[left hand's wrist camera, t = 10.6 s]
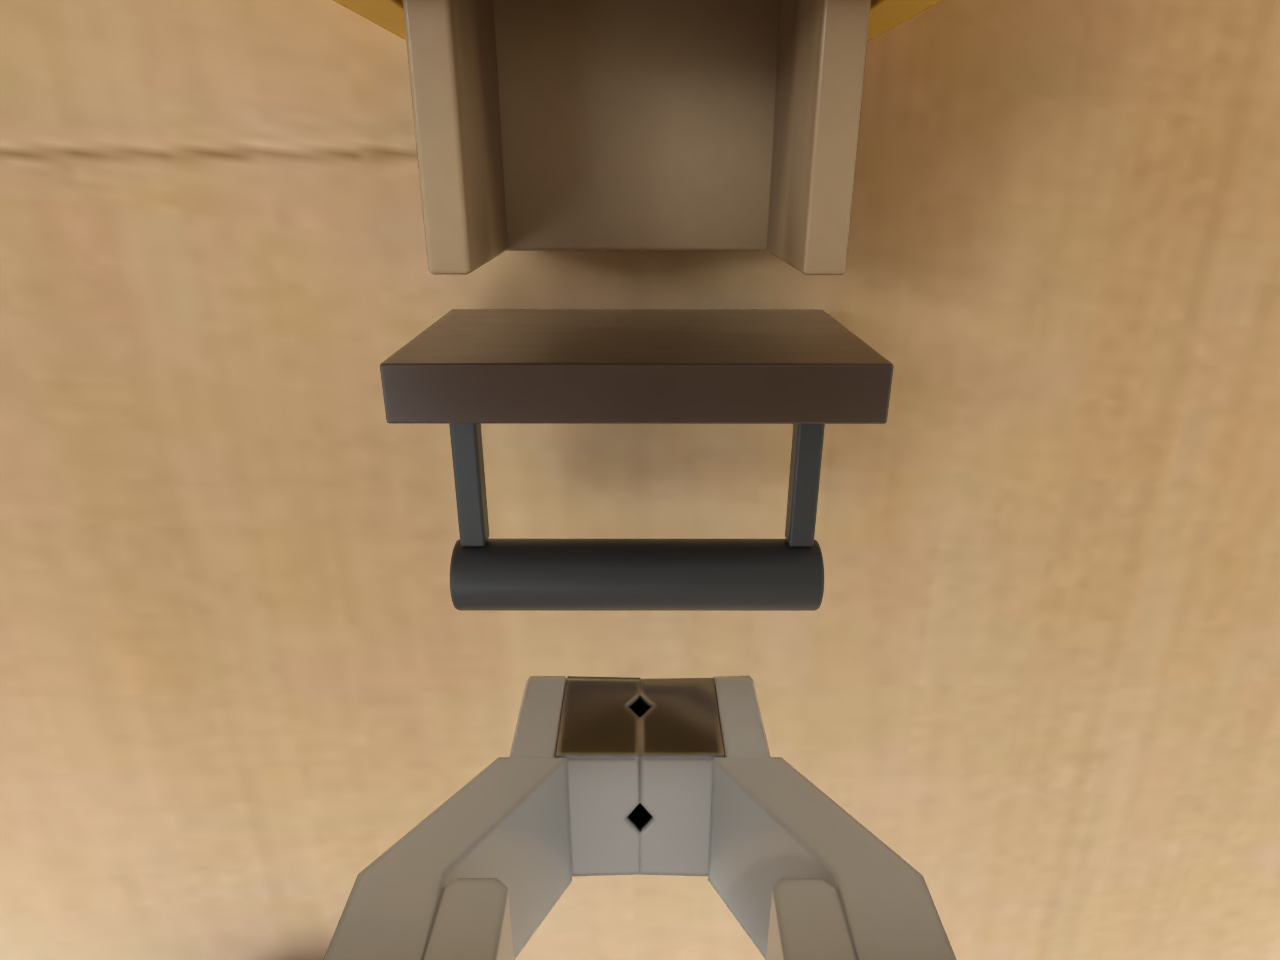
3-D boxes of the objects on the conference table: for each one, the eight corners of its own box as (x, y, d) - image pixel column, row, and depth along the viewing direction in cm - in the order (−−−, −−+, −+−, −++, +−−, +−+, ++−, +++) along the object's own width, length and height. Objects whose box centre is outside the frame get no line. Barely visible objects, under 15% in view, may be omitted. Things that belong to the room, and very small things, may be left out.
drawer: (803, 537, 23) (858, 660, 17) (471, 537, 23) (415, 660, 17) (884, -393, 16) (1029, -725, 10) (390, -395, 16) (243, -727, 10)
